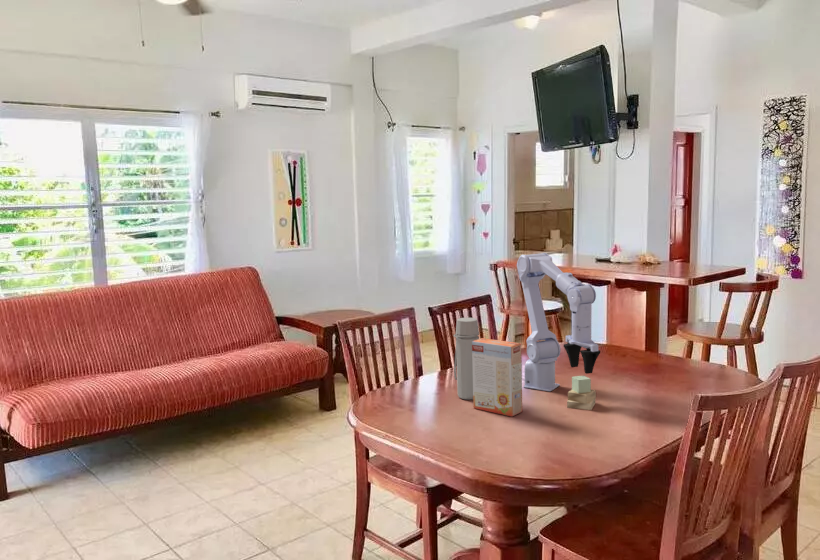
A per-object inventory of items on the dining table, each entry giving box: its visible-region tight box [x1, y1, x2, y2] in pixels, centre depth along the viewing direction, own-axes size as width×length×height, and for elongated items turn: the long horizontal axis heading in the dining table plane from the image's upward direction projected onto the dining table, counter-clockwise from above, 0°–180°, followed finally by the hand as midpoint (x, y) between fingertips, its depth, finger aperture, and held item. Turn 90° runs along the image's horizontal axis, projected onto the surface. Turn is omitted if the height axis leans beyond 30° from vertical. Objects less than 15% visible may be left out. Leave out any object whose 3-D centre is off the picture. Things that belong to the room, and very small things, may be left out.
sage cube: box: [571, 375, 592, 393], centre depth 201 cm, size 4×4×4 cm
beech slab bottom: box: [566, 399, 596, 411], centre depth 201 cm, size 7×7×2 cm
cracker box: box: [472, 337, 523, 417], centre depth 198 cm, size 14×6×21 cm, turn 48°
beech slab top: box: [567, 389, 597, 404], centre depth 201 cm, size 6×6×2 cm
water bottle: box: [453, 317, 480, 401], centre depth 212 cm, size 9×8×25 cm
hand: (581, 369), depth 202 cm, fingers open, 7 cm apart
